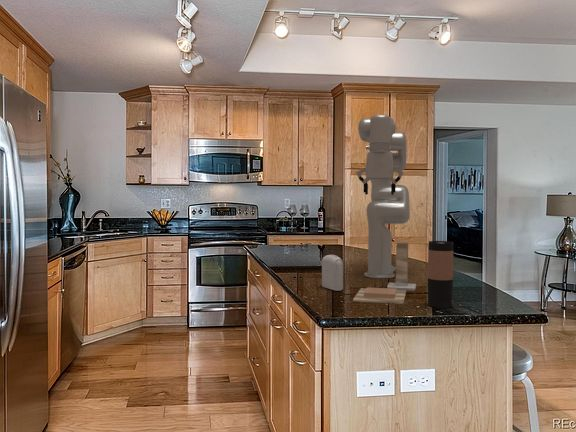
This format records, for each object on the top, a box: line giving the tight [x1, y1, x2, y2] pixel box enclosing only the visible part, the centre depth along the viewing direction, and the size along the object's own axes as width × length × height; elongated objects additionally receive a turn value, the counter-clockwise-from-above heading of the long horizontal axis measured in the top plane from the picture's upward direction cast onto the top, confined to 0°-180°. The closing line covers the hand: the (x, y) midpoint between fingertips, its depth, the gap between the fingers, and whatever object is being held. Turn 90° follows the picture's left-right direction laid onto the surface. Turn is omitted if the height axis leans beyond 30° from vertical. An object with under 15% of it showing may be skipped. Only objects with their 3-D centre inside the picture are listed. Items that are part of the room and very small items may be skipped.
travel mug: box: [427, 240, 454, 309], centre depth 167 cm, size 8×8×20 cm
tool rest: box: [386, 282, 417, 292], centre depth 198 cm, size 10×10×1 cm
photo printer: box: [321, 254, 344, 292], centre depth 195 cm, size 10×4×12 cm, turn 26°
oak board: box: [352, 287, 407, 305], centre depth 181 cm, size 20×16×1 cm
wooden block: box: [395, 241, 409, 287], centre depth 197 cm, size 4×4×16 cm
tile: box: [364, 286, 397, 299], centre depth 180 cm, size 2×10×10 cm
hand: (379, 194), depth 201 cm, fingers open, 9 cm apart
